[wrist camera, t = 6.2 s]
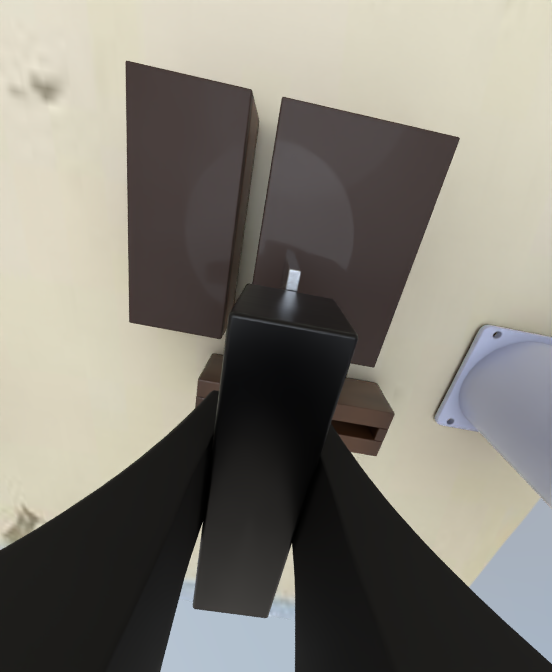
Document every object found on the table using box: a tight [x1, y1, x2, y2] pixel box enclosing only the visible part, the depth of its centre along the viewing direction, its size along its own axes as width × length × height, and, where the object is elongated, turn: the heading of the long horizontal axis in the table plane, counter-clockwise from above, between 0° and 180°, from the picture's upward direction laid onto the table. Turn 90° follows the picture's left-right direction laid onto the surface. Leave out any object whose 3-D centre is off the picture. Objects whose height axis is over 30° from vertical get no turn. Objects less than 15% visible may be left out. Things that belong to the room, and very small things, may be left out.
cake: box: [252, 97, 460, 367], centre depth 15 cm, size 8×11×4 cm
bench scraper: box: [193, 250, 358, 618], centre depth 10 cm, size 10×2×8 cm, turn 170°
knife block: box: [195, 354, 394, 456], centre depth 19 cm, size 12×4×4 cm, turn 79°
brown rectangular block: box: [126, 61, 259, 339], centre depth 14 cm, size 5×11×4 cm, turn 169°
